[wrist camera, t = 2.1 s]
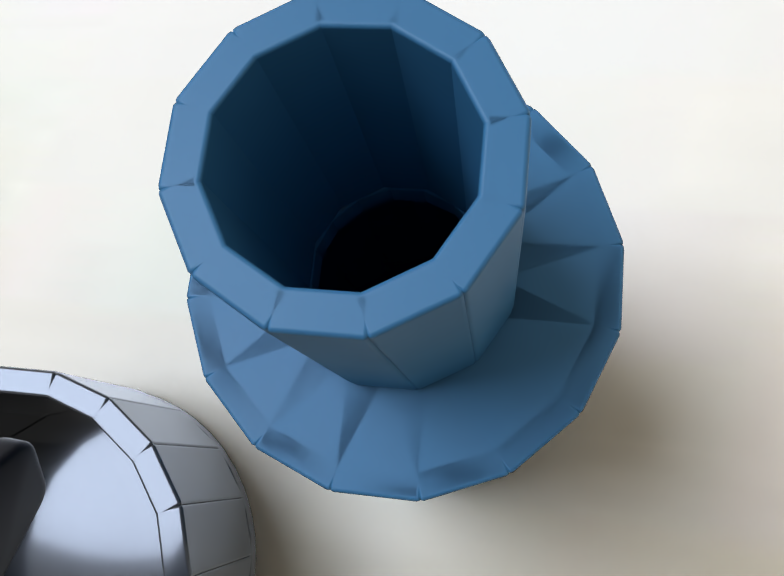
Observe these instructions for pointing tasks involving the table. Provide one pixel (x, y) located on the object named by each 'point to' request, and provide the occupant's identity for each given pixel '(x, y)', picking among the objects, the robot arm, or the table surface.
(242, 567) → the cup holder
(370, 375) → the bottle
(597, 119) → the table surface
